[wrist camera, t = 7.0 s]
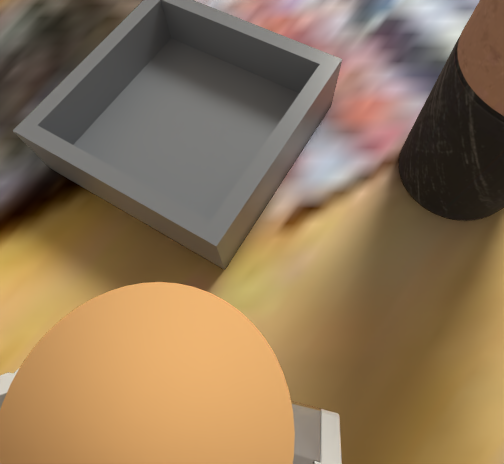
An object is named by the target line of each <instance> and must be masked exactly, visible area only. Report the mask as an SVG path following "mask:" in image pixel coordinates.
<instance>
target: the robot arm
mask: <svg viewBox="0 0 504 464" xmlns="http://www.w3.org/2000/svg"><path fill="white" fill-rule="evenodd" d="M18 370H19V369H18ZM18 370H17V371H15V372H14V373H9V372H8V373H6V374H3V375H0V409H1V406H2V403H3V401H4V398H5V396H6V394H7V391H8V389H9V387H10V384H11V382H12V381H13V379H14V377H15V375H16V374H17V372H18ZM291 404H292V409H293V418H294V431H295V438H294V458H293V464H342V460H341V437H340V417H339V414H338V413H335V412H331V411H327V410H323V409H320V408H316V407H313V406H309V405H305V404H301V403H297V402H293V401H291Z"/></svg>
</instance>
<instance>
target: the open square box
mask: <svg viewBox="0 0 504 464" xmlns="http://www.w3.org/2000/svg"><path fill="white" fill-rule="evenodd" d="M341 62H342V59H340V58H338V57H335V56H333V55H330V54H328V53H325V52H323V51H320V50H317V49H315V48H312V47H310V46H307V45H305V44H302V43H300V42H297V41H295V40H292V39H290V38H287V37H285V36H282V35H280V34H277V33H275V32H272V31H270V30H267V29H265V28H262V27H259V26H257V25H254V24H252V23H249V22H247V21H244V20H242V19H239V18H237V17H234V16H232V15H229V14H227V13H224V12H222V11H219V10H217V9H214V8H212V7H209V6H207V5H204V4H201V3H199V2H196V1H194V0H143V1H142V2H141V3H140V4H139V5H138V6H137V7H136V8H135V9H134V10H133V11H132V12H131V13H130V14H129V15H128V16H127V17H126V18H125V19H124V20H123V21H122V22H121V23H120V24H119V25H118V26H117V27H116V28H115V29H114V30H113V31H112V32H111V33H110V34H109V35H108V36H107V37H106V38H105V39H104V40H103V41H102V42H101V43H100V44H99V45H98V46H97V47H96V48H95V49H94V50H93V51H92V52H91V53H90V54H89V55H88V56H87V57H86V58H85V59H84V60H83V61H82V62H81V63H80V64H79V65H78V66H77V67H76V68H75V69H74V70H73V71H72V72H71V73H70V74H69V75H68V76H67V77H66V78H65V79H64V80H63V81H62V82H61V83H60V84H59V85H58V86H57V87H56V88H55V89H54V90H53V91H52V92H51V93H50V94H49V95H48V96H47V97H46V98H45V99H44V100H43V101H42V102H41V103H40V104H39V105H38V106H37V107H36V108H35V109H34V110H33V111H32V112H31V113H30V114H29V115H28V116H27V117H26V118H25V119H24V120H23V121H22V122H21V123H20V124H19V125H18V126H17V127H16V128H15V129H14V130H13V132H14V133H15V134H16V135H17V136H18V137H19V138H20V139H21V140H22V141H23V142H24V143H25V144H26V145H27V146H28V147H29V148H30V149H31V150H32V151H33V152H34V153H35V154H36V155H37V156H38V157H39V158H40V159H41V160H42V161H43V162H44V163H45V164H46V165H47V166H48V167H49V168H50V169H52V170H54V171H56V172H57V173H59V174H61V175H63V176H64V177H66V178H68V179H69V180H71V181H73V182H75V183H76V184H78V185H80V186H81V187H83V188H85V189H87V190H88V191H90V192H92V193H93V194H95V195H97V196H99V197H100V198H102V199H104V200H106V201H107V202H109V203H111V204H112V205H114V206H116V207H118V208H119V209H121V210H123V211H124V212H126V213H128V214H130V215H131V216H133V217H135V218H136V219H138V220H140V221H142V222H143V223H145V224H147V225H149V226H150V227H152V228H154V229H155V230H157V231H159V232H161V233H162V234H164V235H166V236H167V237H169V238H171V239H173V240H174V241H176V242H178V243H180V244H181V245H183V246H185V247H186V248H188V249H190V250H192V251H193V252H195V253H197V254H198V255H200V256H202V257H204V258H205V259H207V260H209V261H210V262H212V263H214V264H216V265H217V266H219V267H221V268H223V269H224V270H225V269H226V267H227V266H228V264H229V263H230V261H231V259H232V258H233V256H234V255H235V253H236V252H237V250H238V249H239V247H240V246H241V244H242V242H243V241H244V239H245V238H246V236H247V235H248V233H249V232H250V230H251V229H252V227H253V225H254V224H255V222H256V221H257V219H258V218H259V216H260V215H261V213H262V212H263V210H264V208H265V207H266V205H267V204H268V202H269V201H270V199H271V198H272V196H273V195H274V193H275V191H276V190H277V188H278V187H279V185H280V184H281V182H282V181H283V179H284V178H285V176H286V174H287V173H288V171H289V170H290V168H291V167H292V165H293V164H294V162H295V161H296V159H297V157H298V156H299V154H300V153H301V151H302V150H303V148H304V147H305V145H306V144H307V142H308V141H309V139H310V137H311V136H312V134H313V133H314V131H315V130H316V128H317V127H318V125H319V124H320V122H321V120H322V119H323V117H324V116H325V114H326V113H327V111H328V110H329V108H330V107H331V104H332V100H333V96H334V92H335V88H336V83H337V79H338V75H339V71H340V66H341Z"/></svg>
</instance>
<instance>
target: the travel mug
mask: <svg viewBox="0 0 504 464" xmlns="http://www.w3.org/2000/svg"><path fill="white" fill-rule="evenodd" d="M399 172H400V176H401V179H402V182H403V184H404V186H405V188H406V189H407V191H408V192H409V194H410V195H411V196H412V197H413V198H414V199H415V200H416V201H417V202H418V203H419V204H420V205H422V206H423V207H424V208H426V209H428V210H429V211H431V212H433V213H435V214H437V215H440V216H442V217H446V218H449V219H455V220H476V219H480V218H484V217H487V216H490V215H492V214H494V213H495V212H497V211H499V210H501V209H502V208H504V0H480V1H479V3H478V5H477V7H476V8H475V10H474V12H473V14H472V15H471V17H470V19H469V21H468V22H467V24H466V26H465V28H464V29H463V31H462V33H461V35H460V37H459V39H458V41H457V42H456V44H455V46H454V48H453V50H452V52H451V54H450V56H449V58H448V60H447V62H446V64H445V66H444V68H443V69H442V71H441V73H440V75H439V77H438V79H437V81H436V83H435V85H434V87H433V89H432V91H431V93H430V95H429V97H428V98H427V100H426V102H425V104H424V106H423V108H422V110H421V112H420V114H419V116H418V118H417V120H416V122H415V124H414V126H413V127H412V129H411V131H410V133H409V135H408V137H407V139H406V141H405V143H404V146H403V148H402V151H401V153H400V158H399Z"/></svg>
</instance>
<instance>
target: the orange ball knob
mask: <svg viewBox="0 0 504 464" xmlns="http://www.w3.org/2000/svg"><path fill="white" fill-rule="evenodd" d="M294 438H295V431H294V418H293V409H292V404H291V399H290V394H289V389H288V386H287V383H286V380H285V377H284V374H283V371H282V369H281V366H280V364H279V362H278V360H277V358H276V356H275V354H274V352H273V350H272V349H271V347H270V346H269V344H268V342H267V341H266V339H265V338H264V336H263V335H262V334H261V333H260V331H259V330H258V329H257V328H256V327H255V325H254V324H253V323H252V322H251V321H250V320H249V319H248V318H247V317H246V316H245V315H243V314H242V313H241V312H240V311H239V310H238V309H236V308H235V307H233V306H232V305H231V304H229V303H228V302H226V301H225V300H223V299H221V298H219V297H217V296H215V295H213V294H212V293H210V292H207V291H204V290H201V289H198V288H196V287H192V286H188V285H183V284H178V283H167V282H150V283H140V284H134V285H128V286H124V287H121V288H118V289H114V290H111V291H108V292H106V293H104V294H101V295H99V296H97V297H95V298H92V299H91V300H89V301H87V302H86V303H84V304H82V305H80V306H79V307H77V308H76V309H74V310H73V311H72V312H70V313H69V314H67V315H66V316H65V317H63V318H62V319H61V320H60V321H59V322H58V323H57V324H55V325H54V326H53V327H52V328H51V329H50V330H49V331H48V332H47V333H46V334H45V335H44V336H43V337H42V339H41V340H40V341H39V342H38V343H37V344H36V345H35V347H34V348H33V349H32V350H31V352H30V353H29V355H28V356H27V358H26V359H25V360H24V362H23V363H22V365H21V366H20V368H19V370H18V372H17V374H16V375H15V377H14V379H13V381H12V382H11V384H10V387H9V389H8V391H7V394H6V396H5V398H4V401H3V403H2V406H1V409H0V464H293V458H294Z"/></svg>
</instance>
